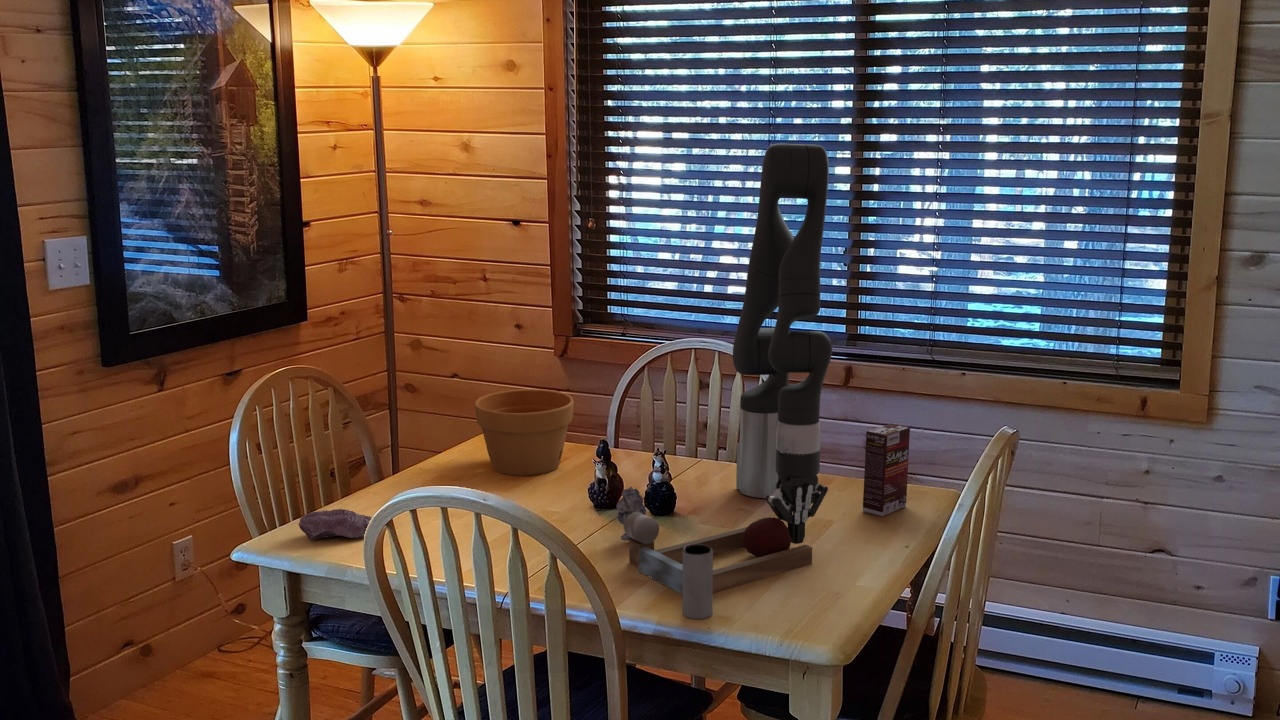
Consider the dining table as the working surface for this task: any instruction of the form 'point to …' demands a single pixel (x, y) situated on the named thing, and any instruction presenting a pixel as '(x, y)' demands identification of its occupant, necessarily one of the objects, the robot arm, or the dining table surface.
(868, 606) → the dining table surface
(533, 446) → the flower pot
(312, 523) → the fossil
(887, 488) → the supplement box
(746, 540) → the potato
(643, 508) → the grey lumpy rock
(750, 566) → the bay
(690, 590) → the grey tube
